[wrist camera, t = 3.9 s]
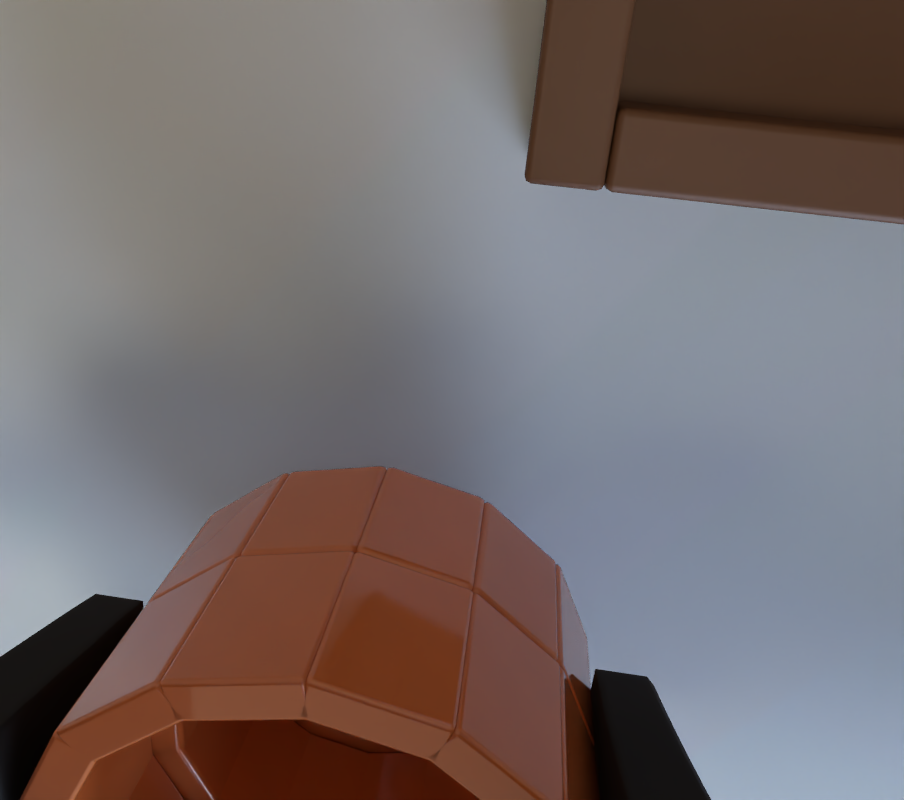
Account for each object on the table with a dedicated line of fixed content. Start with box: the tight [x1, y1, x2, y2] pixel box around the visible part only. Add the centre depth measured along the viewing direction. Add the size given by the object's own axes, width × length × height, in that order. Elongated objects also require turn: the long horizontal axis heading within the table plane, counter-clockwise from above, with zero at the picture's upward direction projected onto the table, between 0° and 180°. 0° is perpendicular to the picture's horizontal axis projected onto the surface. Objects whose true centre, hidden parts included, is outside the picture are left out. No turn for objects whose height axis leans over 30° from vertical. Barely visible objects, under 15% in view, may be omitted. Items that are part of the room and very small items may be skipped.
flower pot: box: [19, 466, 599, 800], centre depth 9 cm, size 6×6×4 cm
